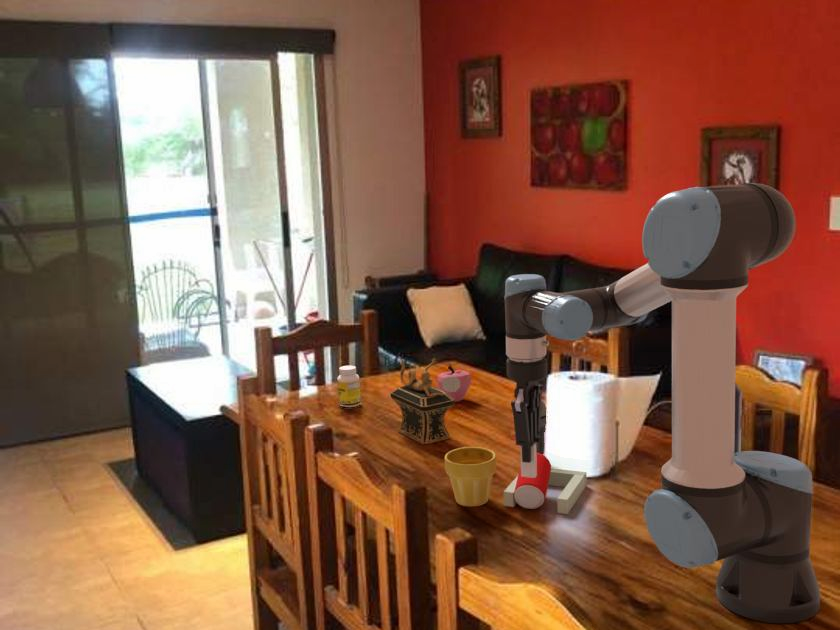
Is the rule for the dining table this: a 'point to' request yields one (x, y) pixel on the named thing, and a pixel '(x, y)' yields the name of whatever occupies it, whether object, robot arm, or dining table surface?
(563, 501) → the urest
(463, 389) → the apple
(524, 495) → the beverage can
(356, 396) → the pill bottle
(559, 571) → the dining table surface
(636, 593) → the dining table surface
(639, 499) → the dining table surface
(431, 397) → the decorative box
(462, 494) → the plant pot
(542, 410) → the beverage cup
